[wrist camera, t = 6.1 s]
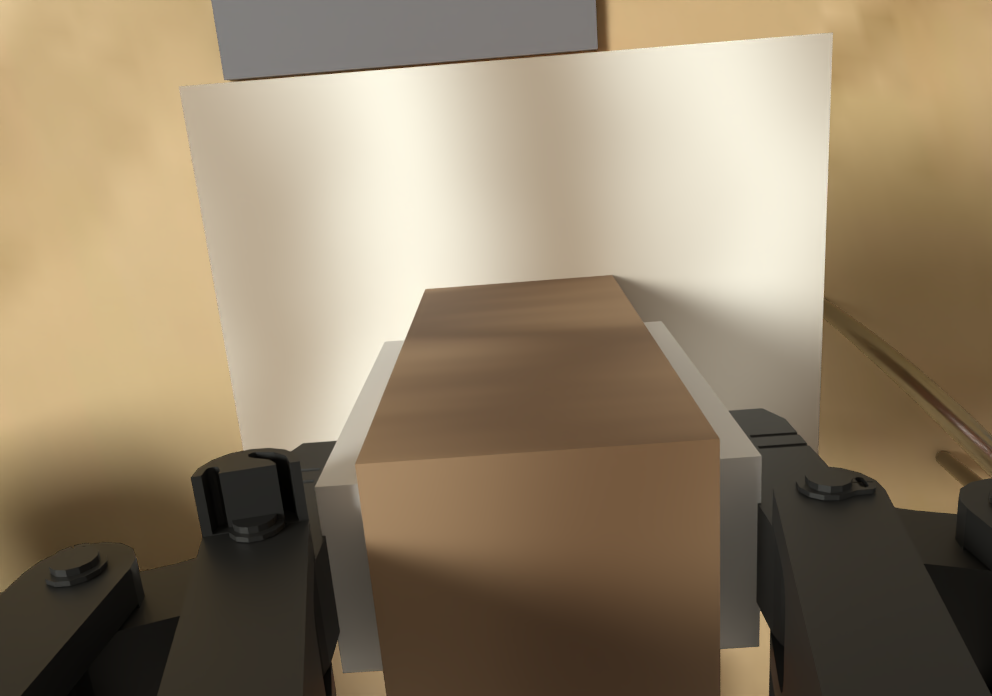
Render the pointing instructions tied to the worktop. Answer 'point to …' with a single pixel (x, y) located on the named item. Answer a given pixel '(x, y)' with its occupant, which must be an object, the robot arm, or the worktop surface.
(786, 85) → the lid
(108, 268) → the worktop surface
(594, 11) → the mat
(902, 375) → the juicer
